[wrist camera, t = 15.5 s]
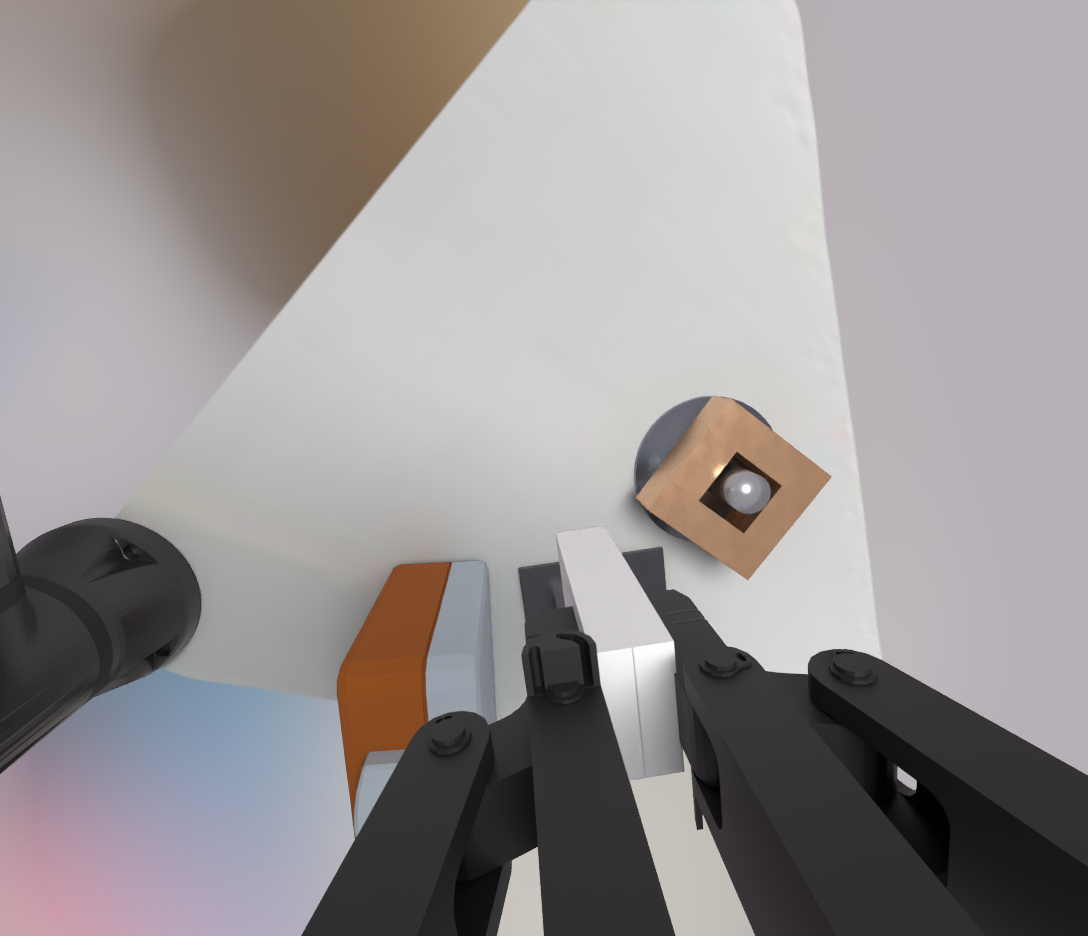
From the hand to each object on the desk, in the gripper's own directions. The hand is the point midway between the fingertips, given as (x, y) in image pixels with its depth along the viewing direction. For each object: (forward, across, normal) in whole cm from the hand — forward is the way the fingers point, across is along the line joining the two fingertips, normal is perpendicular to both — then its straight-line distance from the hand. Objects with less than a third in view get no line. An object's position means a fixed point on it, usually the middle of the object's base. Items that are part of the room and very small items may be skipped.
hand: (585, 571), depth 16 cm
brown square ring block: (+29, +16, -6) cm, 34 cm away
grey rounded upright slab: (+33, -11, -20) cm, 40 cm away
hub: (+32, +16, -6) cm, 37 cm away
